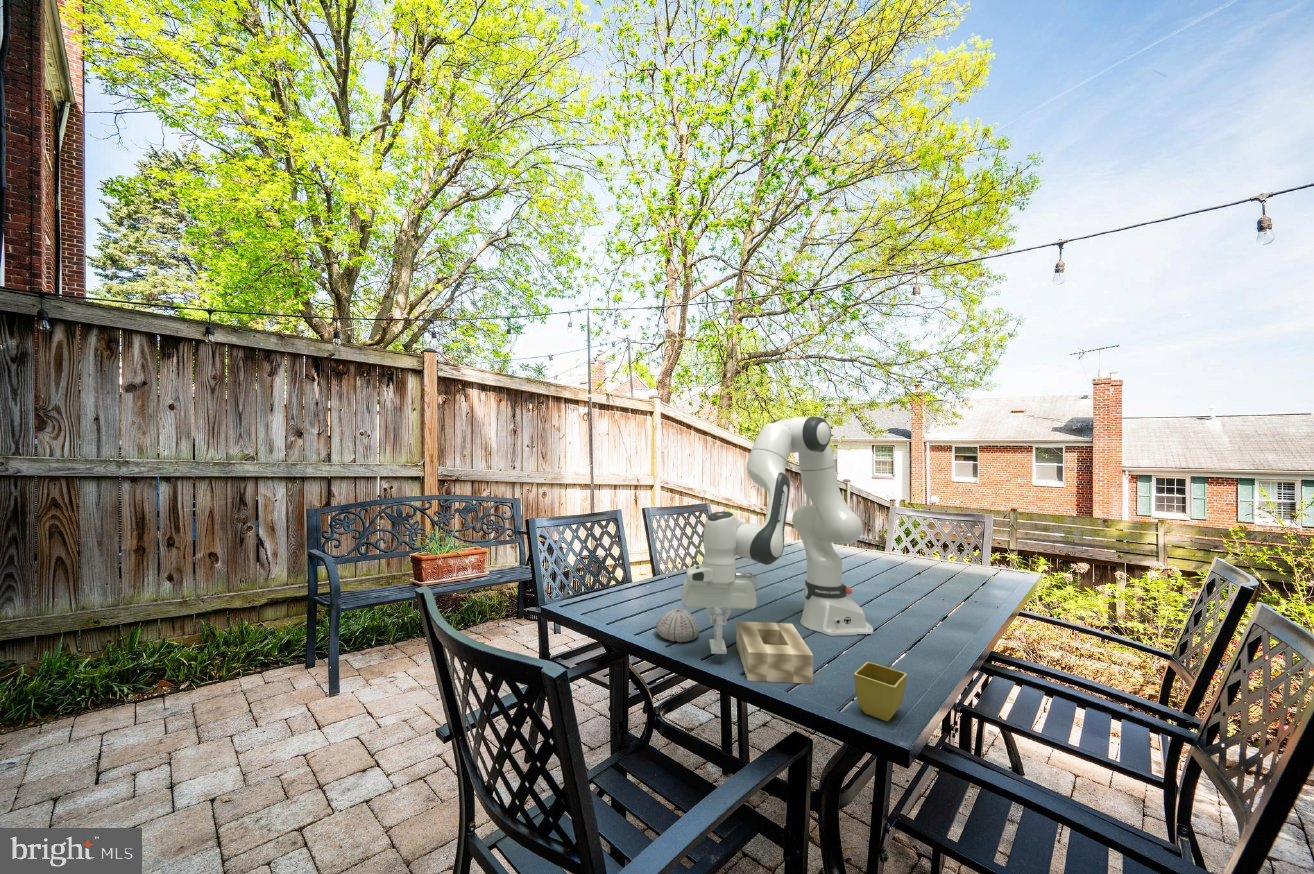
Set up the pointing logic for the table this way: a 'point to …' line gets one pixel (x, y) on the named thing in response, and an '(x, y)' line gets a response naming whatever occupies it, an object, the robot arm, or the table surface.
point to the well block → (774, 653)
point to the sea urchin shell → (678, 626)
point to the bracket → (718, 635)
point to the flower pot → (879, 690)
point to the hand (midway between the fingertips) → (718, 623)
